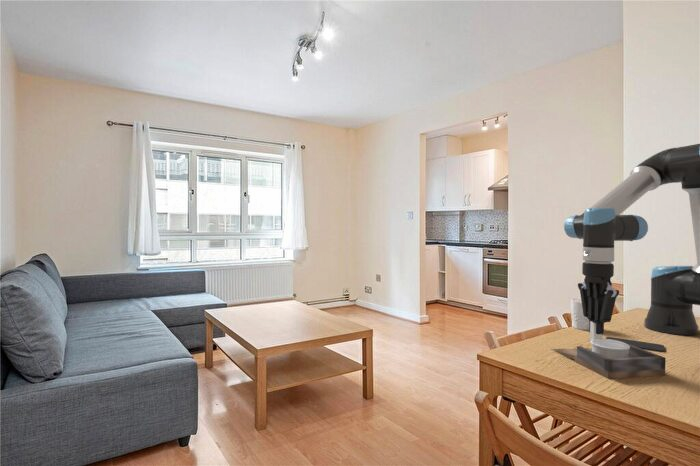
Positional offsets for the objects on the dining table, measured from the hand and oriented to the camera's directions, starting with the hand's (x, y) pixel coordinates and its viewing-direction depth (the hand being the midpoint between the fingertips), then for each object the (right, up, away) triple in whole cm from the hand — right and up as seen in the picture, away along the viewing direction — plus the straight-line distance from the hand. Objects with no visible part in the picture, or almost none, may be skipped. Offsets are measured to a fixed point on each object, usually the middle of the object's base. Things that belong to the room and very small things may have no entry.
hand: (596, 344), depth 111 cm
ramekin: (+1, -3, -5) cm, 6 cm away
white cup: (+15, -3, +32) cm, 35 cm away
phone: (+20, -4, +12) cm, 23 cm away
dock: (0, -5, -2) cm, 5 cm away
